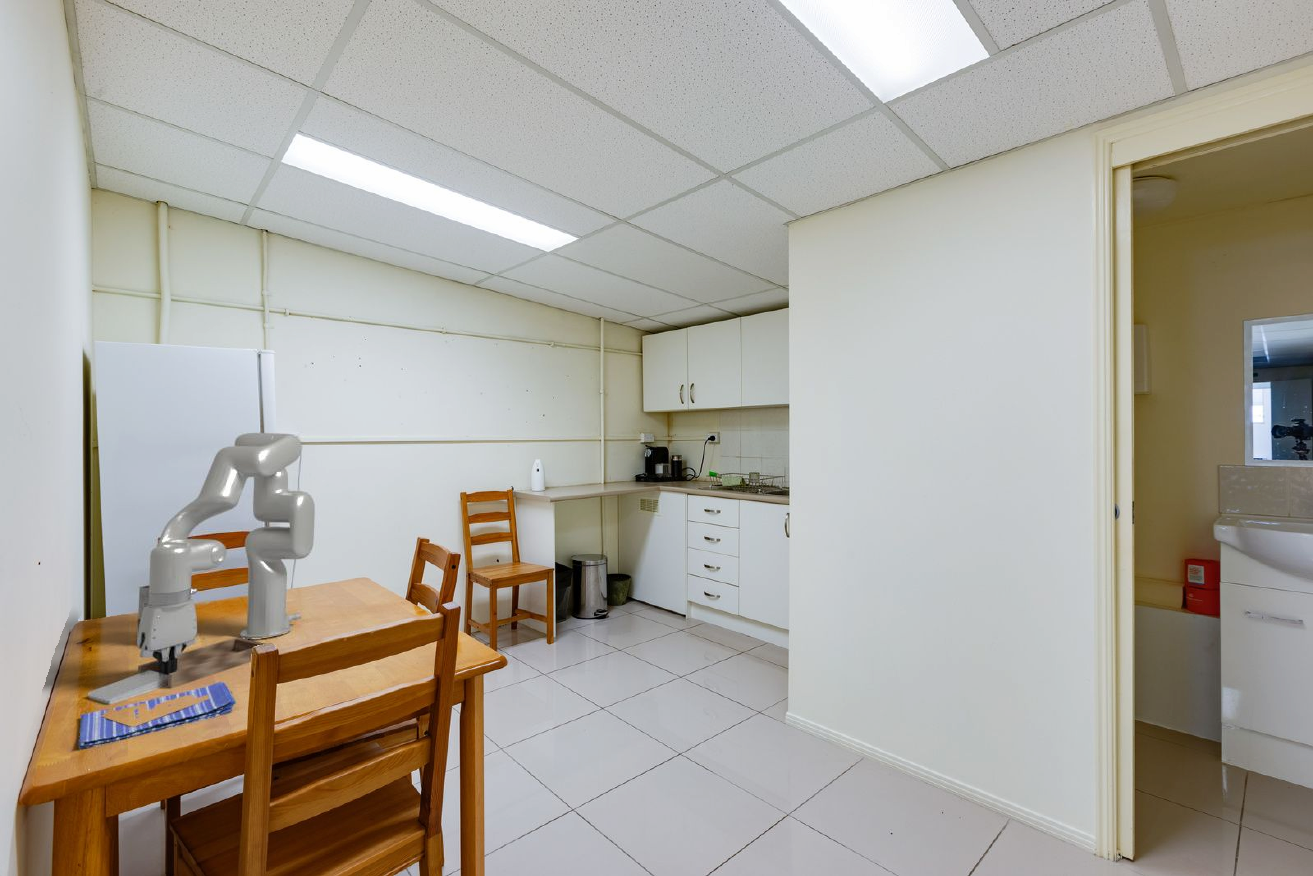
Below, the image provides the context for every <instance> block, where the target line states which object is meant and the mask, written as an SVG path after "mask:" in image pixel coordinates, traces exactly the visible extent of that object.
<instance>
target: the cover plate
mask: <svg viewBox="0 0 1313 876" xmlns="http://www.w3.org/2000/svg"><path fill="white" fill-rule="evenodd" d="M168 676H169V675H166V674H162V673H158V672H154V671H151V670H147V671H145V672H142V673H139V674H138V673H136V674H134V675H132V676H128V677H126V678H124V679H121V680H118V681H116V682H113V683H110V684H108V685H105V686H101V687H98V688H96V689H94V690H91V691H88V692H87V693H88V699H90V700H94V701H98V702H101V703H103V704H108V705H113V704H116V703H119V702H121V701H125V700H128V699H130V698H133V697H137V696H140V695H143V694H146V693H149V692H152V691H154V690H159V689H161V688H163V687H165V686H166V685H168Z"/></svg>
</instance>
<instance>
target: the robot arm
mask: <svg viewBox="0 0 1313 876" xmlns="http://www.w3.org/2000/svg"><path fill="white" fill-rule="evenodd" d="M302 450H303V444H302V441H301V439H300V438H299V437H298V436H297V435H294V434H292V433H275V432H274V433H273V432H271V433H270V432H251V433H244V434H240V435H239V436H237V437H236V438H235V441H234V446H226V447H223V448H221V449H220V450H218V452H216V454H215V456H214V458H213V460H212V463H211V466H210V468H209V470H208V473H207V475H206V477H205V480H204V483H203V485H202V487H201V490H200V491H199V492H200V493H199V494H198V496H197V497H196V498H195V499H194V500H193V501H191V502H189V503H188V504H187V505H186V506H184V507H183V508H182V509H181V510H179V511H178V512H177V513H176V514H175V515H174V516H173V517H172V518H171V519H170V520H169V521H168V522H167V523H166V525H165V527H164V528H163V530H162V532H161V535H160V537H159V540H158V542H157V545H156V547H154V548H152V550H151V551H150V556H149V581H148V582H149V584H148V585H149V606H146V607H144V609H143V612H142V616H141V620H140V625H139V631H138V640H137V639H136V645H137V648H138V649H139V650H140V653H139V657H140V658H143V659H146V658H147V659H148V658H153V659H155V661H157V660H159V667H158V673H162V674H166V675H169V674H170V673H174V672H176V670H177V659H178V658H179V657H180V655H181V653H184V650H185V649H186V648H188V647H191V646H193V645H195V644H196V637H197V633H198V621H197V620H198V619H197V612H196V611H197V610H196V606H195V602H194V599H192V595H194V594H196V593H197V588H196V587H194V588H192V573H193V572H199V571H209V570H212V569H216V568H217V567H219V566H220V565H222V563H223V562H224V561H225V559H226V557H227V548H226V546H225V544H223V543H222V542H221V541H219V540H216V539H205V538H204V539H203V538H202V539H199V538H189V536H190V534H191V533H192V531H193V530H194V529H195V528H196V527H197V526H199V525H200V524H201V523H204V522H205V521H207V520H210V518H213V517H216V516H219V515H221V514H223V513H225V512H229V511H230V510H233V509H234V508H235V507H236V506H238V504H239V501H240V498H241V495H242V492H243V490H244V488H245V485H246V482H247V480H248V479H249V478H253V495H252V497H253V499H252V511H253V512H252V513H253V516H254V519H256V520H257V521H259V522H262V523H289V526H262V527H257V528H255V529H253V530H251V531H250V532H249V533H248V534H247V536H246V538H245V541H244V549H245V554H246V558H247V565H248V566H247V567H248V583H247V584H248V585H247V588H248V589H247V612H246V613H247V617H246V619H247V620H246V621H247V622H246V623H247V625H246V626H247V627H246V628H245V629H243V630H241V632H240V635H239V636H241V637H242V639H243V638H245V639H247V640H248V639H252V638H263V637H269V636H276V635H279V634H283V633H285V632H288V631H290V629H291V628H292V627H293V626H292V625H291V624H290V623H291V622H292V621H296V620H299V619H300V620H301V618H302V613H300V612H295V613H293V614H292V613H287V592H288V591H287V590H288V589H287V584H288V582H287V581H288V571H287V567H286V566H285V564H284V562H283V561H282V560H302V559H306V558H307V557H308V556H310V553H311V552H312V550H313V547H314V542H315V541H314V540H315V539H314V538H315V519H316V518H315V516H316V515H315V513H316V512H315V511H316V510H315V509H316V508H315V507H316V506H315V501H314V499H313V497H312V496H311V494H309V493H308V492H306V491H302V490H290V489H289V476H288V471H287V467H288V466H290V465H292V464H293V463H294V462H296V461H298V459H299V457H300V456H301V455H302ZM291 630H292V629H291ZM290 632H291V631H290ZM288 633H289V632H288ZM283 635H284V634H283ZM241 637H240V638H241Z"/></svg>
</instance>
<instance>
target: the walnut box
mask: <svg viewBox="0 0 1313 876" xmlns="http://www.w3.org/2000/svg"><path fill="white" fill-rule="evenodd" d="M263 644H267V643H266V642H262V641H261V642H260V641H256V640H248V639H243V638H241V637H233V638H230V639H227V640H223V641H220V642H216V643H212V644H210V645H206V646H202V647H199V648H196V649H192V650H188V651H183V652H182V653H181V655H180V657H179V658H178V659H177V670H176V672H174V673H170V674H169V676H168V685H166V686H164V687H165V688H168V689H175V688H177V687H180V686H183V685H185V684H189V683H191V682H195V681H198V680H200V679H203V678H206V677H209V676H212V675H215V674H219V673H221V672H222V673H223V672H225V671H228V670H231V669H234V668H236V667H239V666H242V665H246V664H249V663H252V662H251V654H252V649H253V647H254V646H257V645H263ZM158 667H159V660H153V661H150V662H147V663H144V664H140V665H138V666H137V674H139V673H142V672H145V671H147V670H151V671H154V672H158Z"/></svg>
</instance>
